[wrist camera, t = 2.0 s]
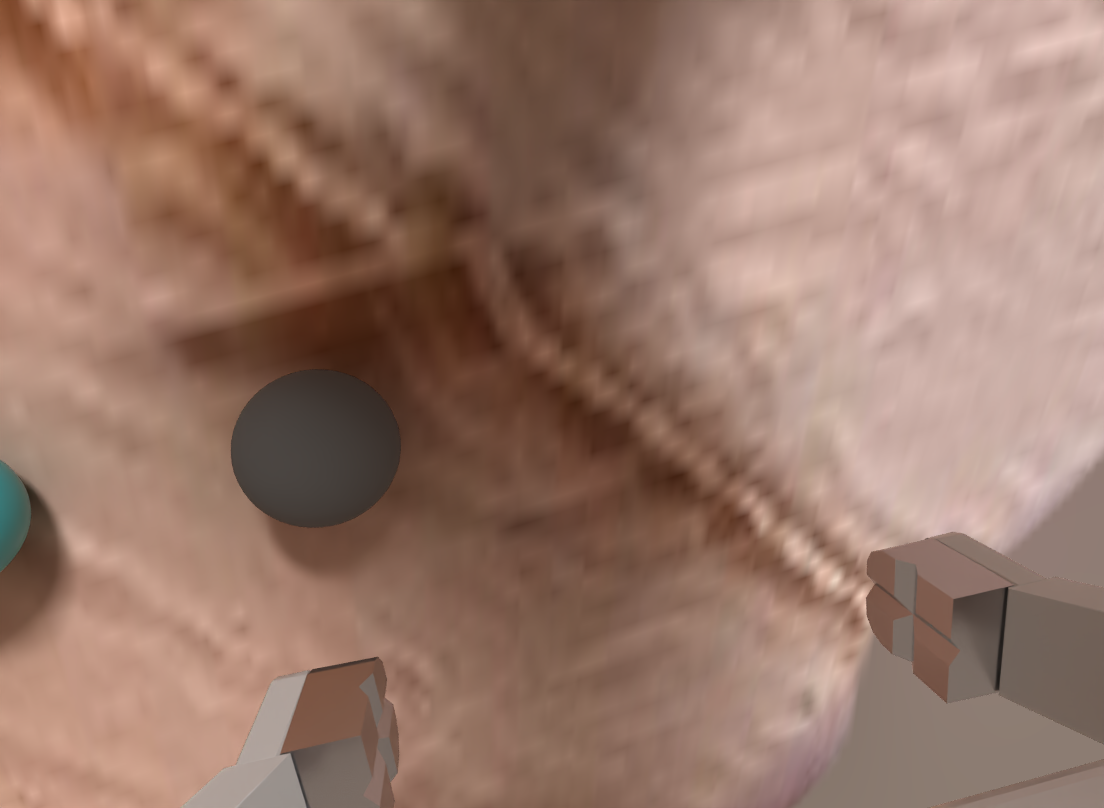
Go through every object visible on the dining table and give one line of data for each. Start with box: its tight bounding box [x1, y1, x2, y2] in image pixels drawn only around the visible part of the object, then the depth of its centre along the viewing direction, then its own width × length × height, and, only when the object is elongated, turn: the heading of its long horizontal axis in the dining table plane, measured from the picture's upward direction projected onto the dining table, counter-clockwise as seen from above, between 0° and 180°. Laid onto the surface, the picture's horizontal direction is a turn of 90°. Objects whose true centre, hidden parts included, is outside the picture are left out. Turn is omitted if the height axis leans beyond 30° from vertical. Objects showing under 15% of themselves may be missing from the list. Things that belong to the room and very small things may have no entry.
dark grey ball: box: [231, 370, 401, 528], centre depth 22 cm, size 6×6×6 cm
